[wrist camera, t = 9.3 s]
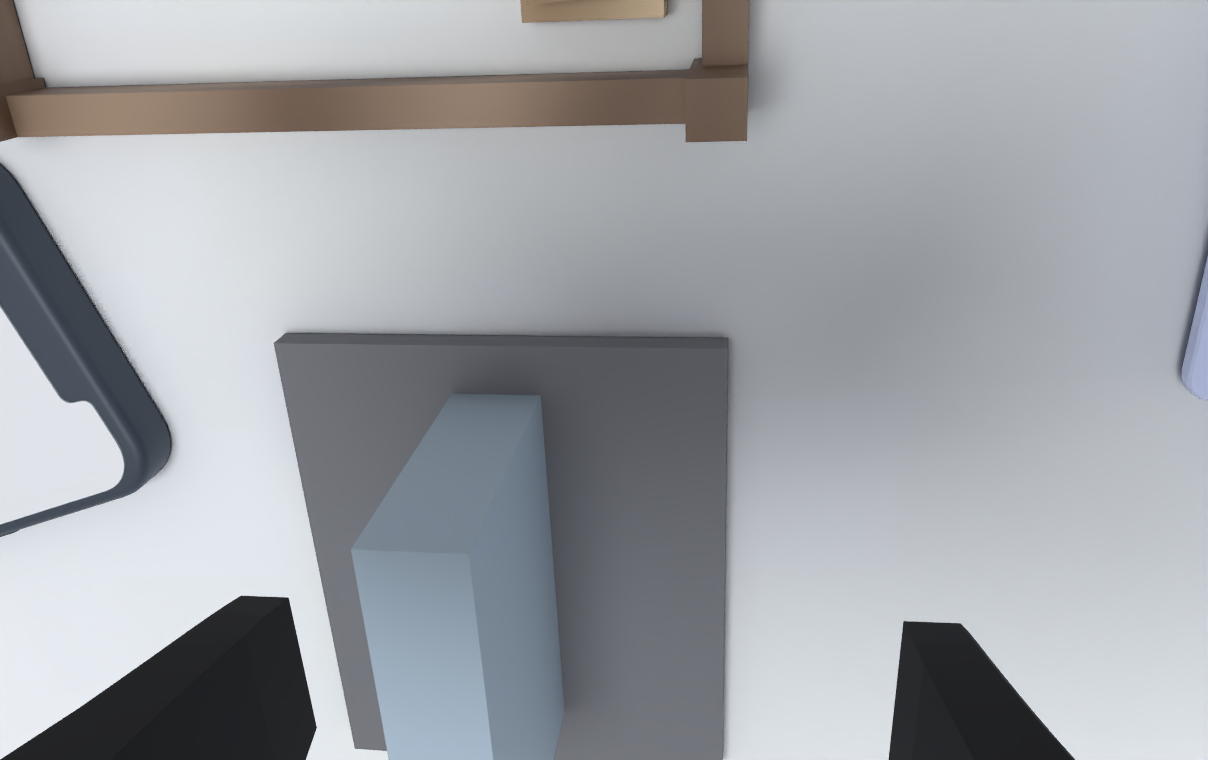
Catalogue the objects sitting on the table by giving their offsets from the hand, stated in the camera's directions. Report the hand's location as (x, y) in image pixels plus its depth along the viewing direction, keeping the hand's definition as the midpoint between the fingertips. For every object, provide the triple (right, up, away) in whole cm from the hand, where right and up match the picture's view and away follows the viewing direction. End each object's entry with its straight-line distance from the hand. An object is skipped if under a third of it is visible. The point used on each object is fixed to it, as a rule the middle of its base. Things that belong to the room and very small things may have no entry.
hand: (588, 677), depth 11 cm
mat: (-2, -1, +12) cm, 12 cm away
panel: (-2, -1, +12) cm, 12 cm away
